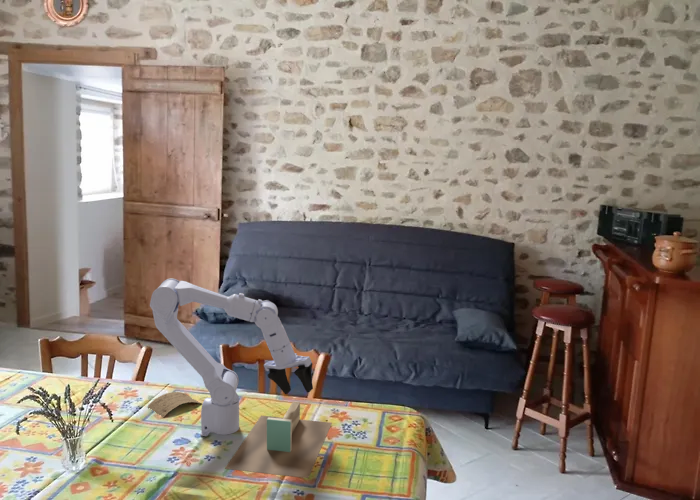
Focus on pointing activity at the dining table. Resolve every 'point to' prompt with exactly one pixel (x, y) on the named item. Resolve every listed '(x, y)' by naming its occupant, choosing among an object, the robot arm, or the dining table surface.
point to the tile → (279, 434)
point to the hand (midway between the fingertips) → (298, 391)
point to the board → (292, 463)
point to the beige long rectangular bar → (293, 414)
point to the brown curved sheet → (169, 402)
